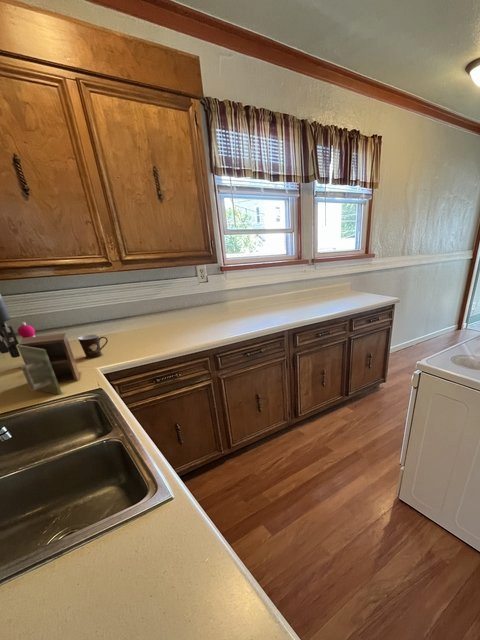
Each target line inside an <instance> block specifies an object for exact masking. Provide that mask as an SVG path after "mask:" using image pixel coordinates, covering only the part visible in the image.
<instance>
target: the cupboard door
mask: <svg viewBox="0 0 480 640" xmlns="http://www.w3.org/2000/svg"><path fill="white" fill-rule="evenodd" d="M17 349H18V351H19V354H20V357H21V358H22V361H23V362H24V365H21V366H20V368H21V371H22V373H23V375H24V378H25V380H26V383H27V384H28V387H29V389H30V391H36V390H37V391H43V392H47V393H50V394H56V395H62V394H63V393H62V390H61V387H60V384H58V382H57V379H56V376H55V374H54V371H53V368H52V366H51V363H50V360H49V358H48V355H47V352H46V350H45V349H40V348H34V347H28V346H22V345H19V344H18V345H17Z"/></svg>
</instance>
